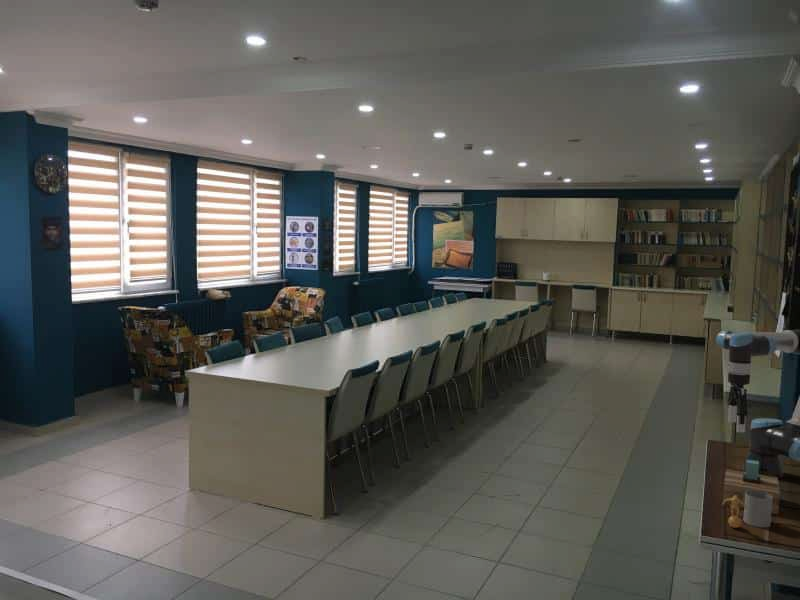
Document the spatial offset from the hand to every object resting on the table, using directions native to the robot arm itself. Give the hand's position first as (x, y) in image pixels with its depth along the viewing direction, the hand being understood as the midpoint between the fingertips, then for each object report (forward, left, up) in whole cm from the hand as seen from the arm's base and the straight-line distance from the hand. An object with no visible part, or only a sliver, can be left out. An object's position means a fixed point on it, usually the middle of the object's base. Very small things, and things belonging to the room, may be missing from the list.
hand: (736, 426), depth 259 cm
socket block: (-1, +8, -26) cm, 28 cm away
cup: (+12, +24, -27) cm, 38 cm away
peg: (-1, +8, -19) cm, 21 cm away
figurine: (+24, +26, -27) cm, 45 cm away
